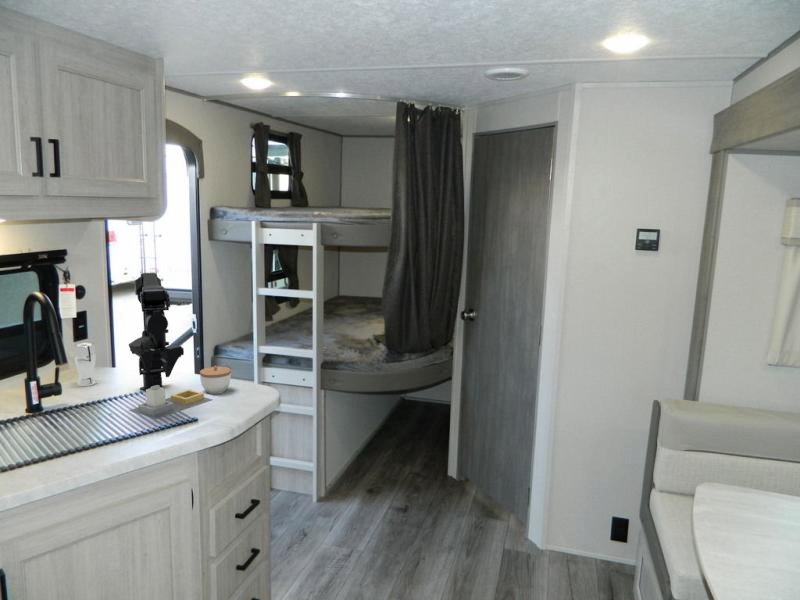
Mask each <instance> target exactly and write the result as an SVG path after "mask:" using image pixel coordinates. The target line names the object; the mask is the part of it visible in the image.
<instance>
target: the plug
mask: <svg viewBox="0 0 800 600" xmlns="http://www.w3.org/2000/svg"><path fill="white" fill-rule="evenodd" d="M145 397H146V401H145V403H147V406H148V407H152V408H156V407H159V406H162V405H165V399H166V389H165V388H163V387H161V388H160V386H159V385H155V386H152V387H151V388H150V389H146V391H145Z"/></svg>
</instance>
